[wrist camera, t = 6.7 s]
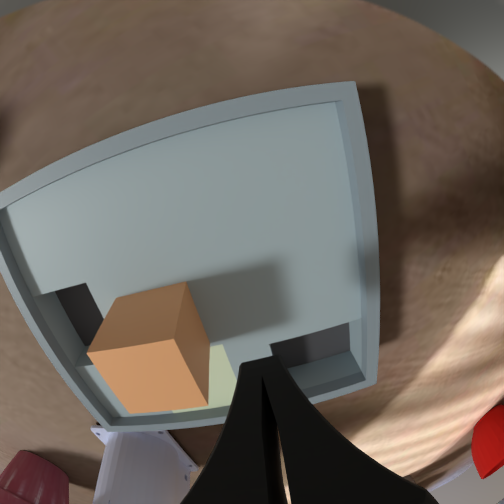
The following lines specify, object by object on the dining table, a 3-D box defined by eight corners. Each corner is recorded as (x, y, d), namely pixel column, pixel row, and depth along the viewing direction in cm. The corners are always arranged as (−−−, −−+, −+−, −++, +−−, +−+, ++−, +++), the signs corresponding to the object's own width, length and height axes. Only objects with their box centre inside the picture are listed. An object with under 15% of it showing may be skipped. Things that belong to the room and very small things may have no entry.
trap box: (359, 352, 21) (376, 383, 17) (116, 401, 21) (107, 431, 18) (328, 90, 14) (355, 81, 11) (9, 193, 14) (-24, 207, 11)
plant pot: (16, 431, 23) (-12, 503, 12) (98, 483, 28) (87, 552, 16) (-2, 446, 26) (-23, 500, 14) (64, 489, 31) (52, 543, 19)
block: (210, 343, 16) (208, 405, 12) (145, 354, 16) (129, 413, 12) (186, 281, 14) (173, 339, 10) (116, 297, 14) (86, 352, 10)
